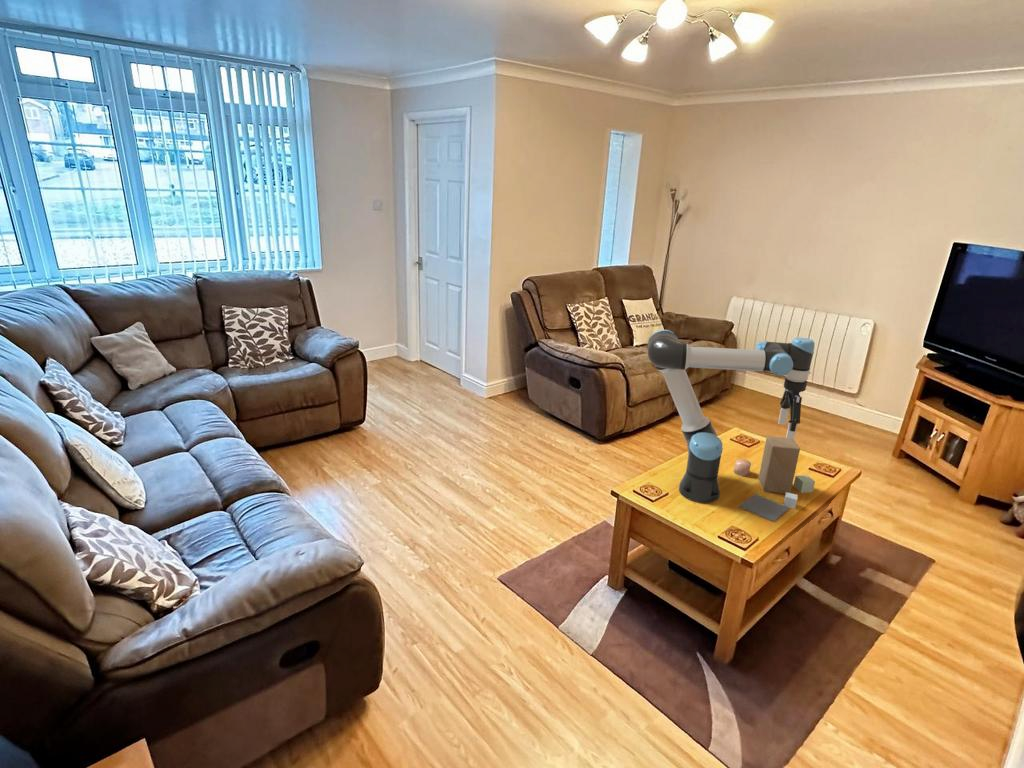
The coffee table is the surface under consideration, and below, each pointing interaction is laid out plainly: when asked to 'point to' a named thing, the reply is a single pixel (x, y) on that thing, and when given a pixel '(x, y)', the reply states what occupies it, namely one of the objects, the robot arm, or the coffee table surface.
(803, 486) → the sage cube
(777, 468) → the wooden block
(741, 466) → the pale pink rounded piece
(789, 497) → the pale blue cube
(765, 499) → the slate mat
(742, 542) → the coffee table surface
